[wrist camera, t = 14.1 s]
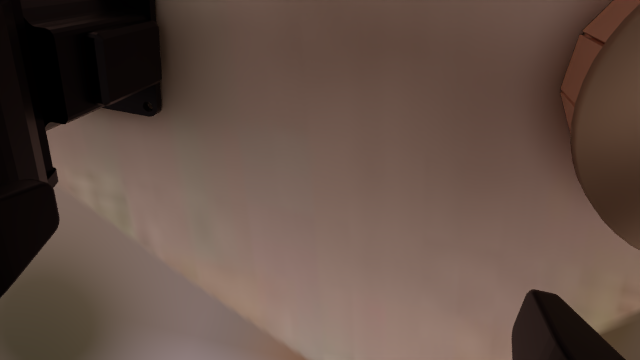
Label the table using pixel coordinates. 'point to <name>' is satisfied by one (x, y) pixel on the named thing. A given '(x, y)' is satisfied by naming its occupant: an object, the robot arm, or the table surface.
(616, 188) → the post with round base
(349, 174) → the table surface
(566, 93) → the bowl
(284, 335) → the table surface
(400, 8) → the table surface
